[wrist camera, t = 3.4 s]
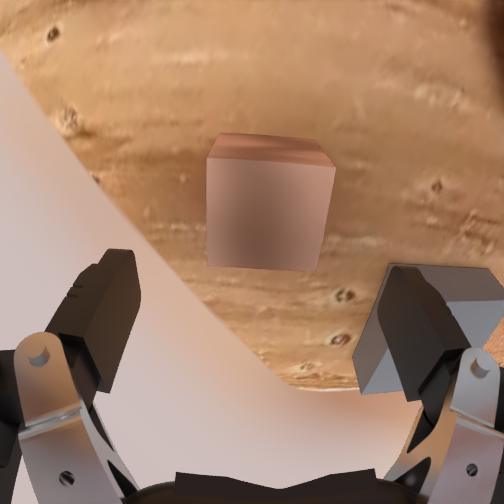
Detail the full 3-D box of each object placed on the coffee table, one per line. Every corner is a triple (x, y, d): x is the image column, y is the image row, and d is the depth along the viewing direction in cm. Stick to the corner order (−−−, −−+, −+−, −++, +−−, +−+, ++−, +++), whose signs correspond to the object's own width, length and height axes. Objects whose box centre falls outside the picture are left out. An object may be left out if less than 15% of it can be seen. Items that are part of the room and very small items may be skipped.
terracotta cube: (314, 139, 16) (336, 167, 12) (302, 221, 19) (316, 271, 14) (220, 132, 16) (206, 158, 12) (218, 216, 19) (206, 265, 14)
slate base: (488, 268, 20) (512, 300, 17) (442, 351, 26) (456, 382, 22) (389, 263, 20) (410, 302, 17) (352, 357, 26) (361, 394, 22)
